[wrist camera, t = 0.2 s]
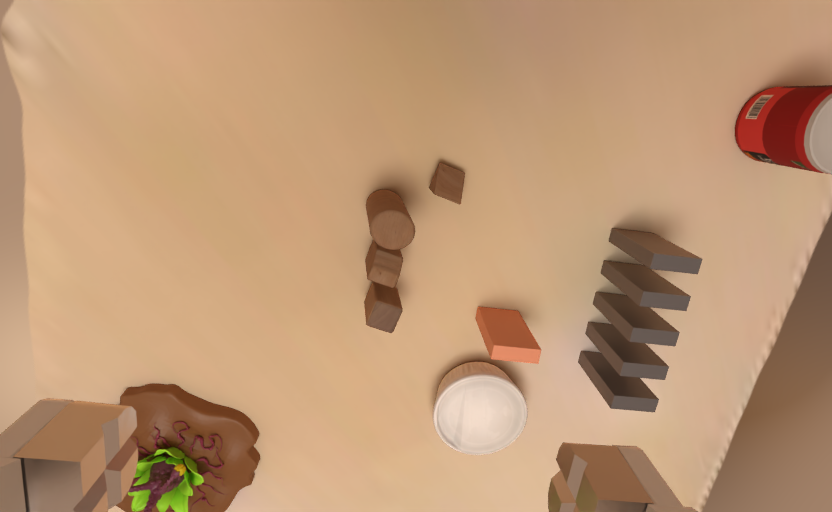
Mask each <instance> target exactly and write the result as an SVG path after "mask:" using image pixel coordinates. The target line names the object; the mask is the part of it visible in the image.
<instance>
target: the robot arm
mask: <svg viewBox="0 0 832 512" xmlns="http://www.w3.org/2000/svg"><path fill="white" fill-rule="evenodd" d="M136 428H137V417H136V410H135V409H134V408H133V407H132V406H123V405H114V404H104V403H95V402H85V401H73V400H63V399H51V398H47V399H43V400H40V401H38V402H37V403H36V404H35V405H34V406H33V407H31V409H29V410H28V411H27V412H26V413H25V414H23V415H22V416H21V417H20V418H19V419H18V420H16V421H15V422H14V423H13V424H12V425H11V426H9V427H8V428H7V429H6V430H5V431H4V432H2V433H1V434H0V512H108V509H110V508H112V507H113V506H115V505H117V504H118V503H120V502H122V500H123V499H124V497H125V496H126V494H127V492H128V491H129V489H130V487H131V484H132V482H133V479H134V476H135V473H136V469H137V462H138V447H137V446H136V444H135V443H134V442H133V441H132V439H131V438H130V436H131V434H132V433H133V432H134V430H135V429H136ZM556 460H557V463H558V465H559V467H560V469H561V470H560V471H559V472H558V473H557V474H556V475H555V476H554V477H553V478H551V483H550V487H549V492H548V509H549V512H698V511H696V510H695V509H693V508H692V507H683V506H682V504H681V503H680V501H679V500H678V499H677V497H676V496H675V494H674V493H673V492H672V490H671V489H670V488H669V486H668V485H667V483H666V482H665V481H664V479H663V478H662V476H661V475H660V474H659V472H658V471H657V470H656V468H655V467H654V465H653V464H652V463H651V461H650V460H649V458H648V457H647V456H646V454H645V453H644V452H643V450H641V449H640V448H638V447H637V446H618V445H612V446H606V445H592V444H578V443H564V442H563V443H562V445H561V447H560V448H559V451H558V455H557V458H556Z"/></svg>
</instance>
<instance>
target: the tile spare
mask: <svg viewBox="0 0 832 512" xmlns="http://www.w3.org/2000/svg"><path fill="white" fill-rule="evenodd" d="M476 321H477V324H478V326H479V329H480V332H481V334H482V337H483V339H484V342H485V345H486V347H487V350H488V352H489V355H490V358H491V359H494V360H505V361H515V362H526V363H536V364H538V362H539V358H540V353H541V349H540V347H539V345H538V343H537V342H536V340H535V338H534V337H533V335H532V333H531V332H530V330H529V328H528V327H527V325H526V323H525V322H524V320H523V318H522V317H521V315H520V313H519V311H516V310H506V309H497V308H487V307H478V308H477V313H476Z"/></svg>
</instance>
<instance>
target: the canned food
mask: <svg viewBox="0 0 832 512" xmlns="http://www.w3.org/2000/svg"><path fill="white" fill-rule="evenodd" d="M735 136H736V141H737V144H738V146H739V148H740V149H741V150H742V152H744V153H745V154H746V155H747V156H748V157H750V158H752V159H754V160H756V161H761V162H767V163H772V164H777V165H782V166H788V167H793V168H798V169H804V170H809V171H814V172H820V173H827V174H832V85H829V86H791V87H774V88H769V89H767V90H765V91H763V92H760V93H758V94H757V95H755V96H754V97H752V98H751V99H750V100H749V101H748V102H747V103H746V104H745V106H744V107H743V108H742V110H741V112H740V114H739V116H738V119H737V122H736V127H735Z"/></svg>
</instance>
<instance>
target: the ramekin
mask: <svg viewBox="0 0 832 512" xmlns="http://www.w3.org/2000/svg"><path fill="white" fill-rule="evenodd" d="M527 416H528V410H527V404H526V401H525V398H524V396H523V394H522V392H521V391H520V389H519V388H518V387H517V386H516V385H515V384H514V383H513V382H512V381H511V380H510V378H509V377H508V376H507V375H506V374H505V372H503V371H502V370H501V369H500V368H498V367H497V366H494V365H492V364H489V363H486V362H469V363H465V364H462V365H460V366H457V367H456V368H454V369H452V370H451V371H450V372H449V373H448V374H447V375H445V377H444V378H443V379H442V381H441V383H440V386H439V388H438V392H437V397H436V400H435V403H434V407H433V422H434V426H435V429H436V431H437V433H438V435H439V436H440V438H441V439H442V440H443V441H444V442H445V443H446V444H447V445H448V446H449V447H451V448H452V449H454V450H456V451H459V452H461V453H465V454H470V455H486V454H491V453H495V452H497V451H500V450H502V449H504V448H506V447H507V446H509V445H510V444H512V443H513V442H514V441H515V440H516V439H517V438H518V437H519V435H520V434H521V433H522V431H523V429H524V427H525V425H526V421H527Z"/></svg>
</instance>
